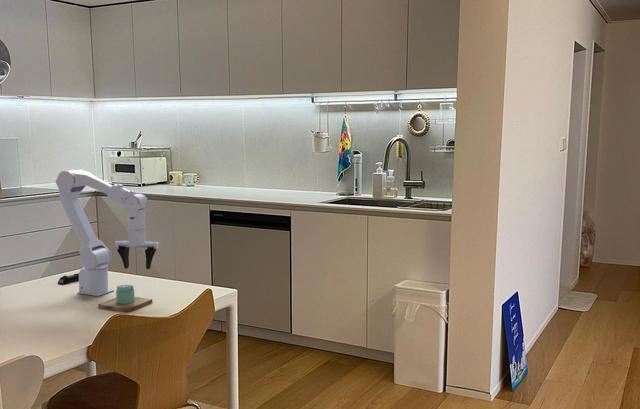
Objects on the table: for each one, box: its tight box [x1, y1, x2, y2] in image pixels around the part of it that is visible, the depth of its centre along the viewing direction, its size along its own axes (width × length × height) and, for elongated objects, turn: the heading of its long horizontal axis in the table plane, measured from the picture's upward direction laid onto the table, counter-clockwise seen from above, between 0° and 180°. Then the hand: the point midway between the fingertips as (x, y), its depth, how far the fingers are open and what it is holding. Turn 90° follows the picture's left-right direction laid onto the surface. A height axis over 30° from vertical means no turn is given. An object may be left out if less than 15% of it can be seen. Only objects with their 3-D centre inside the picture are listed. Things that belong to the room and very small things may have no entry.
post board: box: [97, 296, 153, 313], centre depth 198 cm, size 12×12×5 cm
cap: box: [115, 284, 135, 304], centre depth 198 cm, size 5×5×5 cm
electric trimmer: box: [57, 272, 79, 286], centre depth 229 cm, size 4×16×3 cm, turn 148°
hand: (137, 268), depth 207 cm, fingers open, 7 cm apart
